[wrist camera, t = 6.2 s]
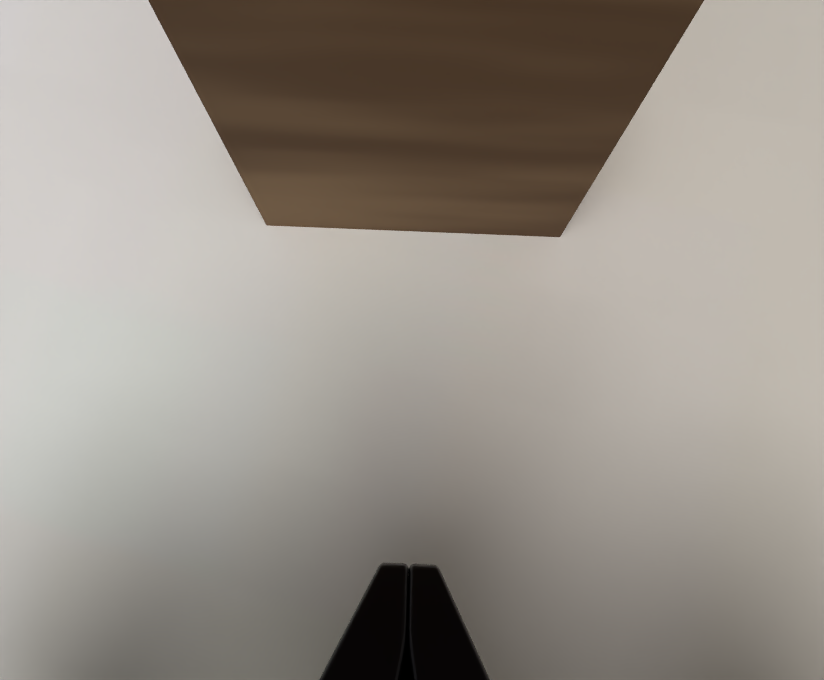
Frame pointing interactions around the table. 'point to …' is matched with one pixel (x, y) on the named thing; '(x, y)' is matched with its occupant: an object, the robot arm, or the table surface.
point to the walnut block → (422, 103)
